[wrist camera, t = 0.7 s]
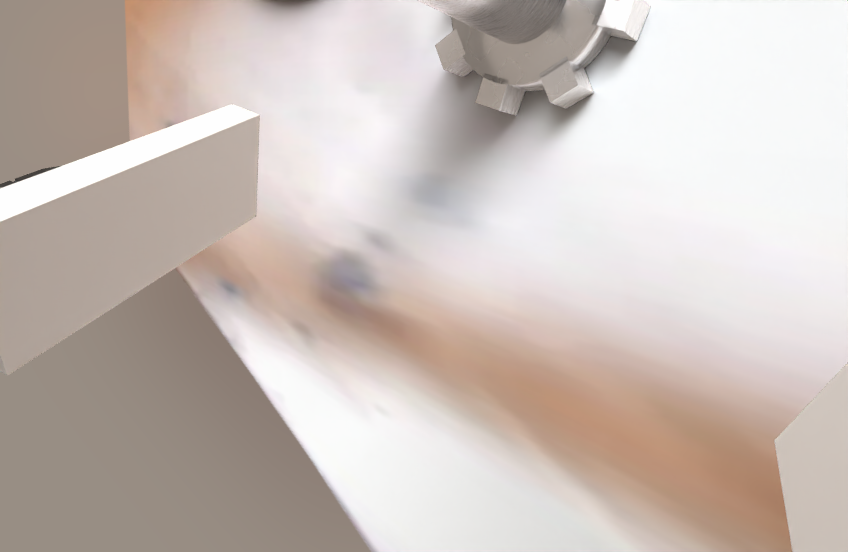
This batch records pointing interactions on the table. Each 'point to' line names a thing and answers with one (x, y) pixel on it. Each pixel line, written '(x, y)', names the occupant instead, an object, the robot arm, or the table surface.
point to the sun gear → (533, 44)
